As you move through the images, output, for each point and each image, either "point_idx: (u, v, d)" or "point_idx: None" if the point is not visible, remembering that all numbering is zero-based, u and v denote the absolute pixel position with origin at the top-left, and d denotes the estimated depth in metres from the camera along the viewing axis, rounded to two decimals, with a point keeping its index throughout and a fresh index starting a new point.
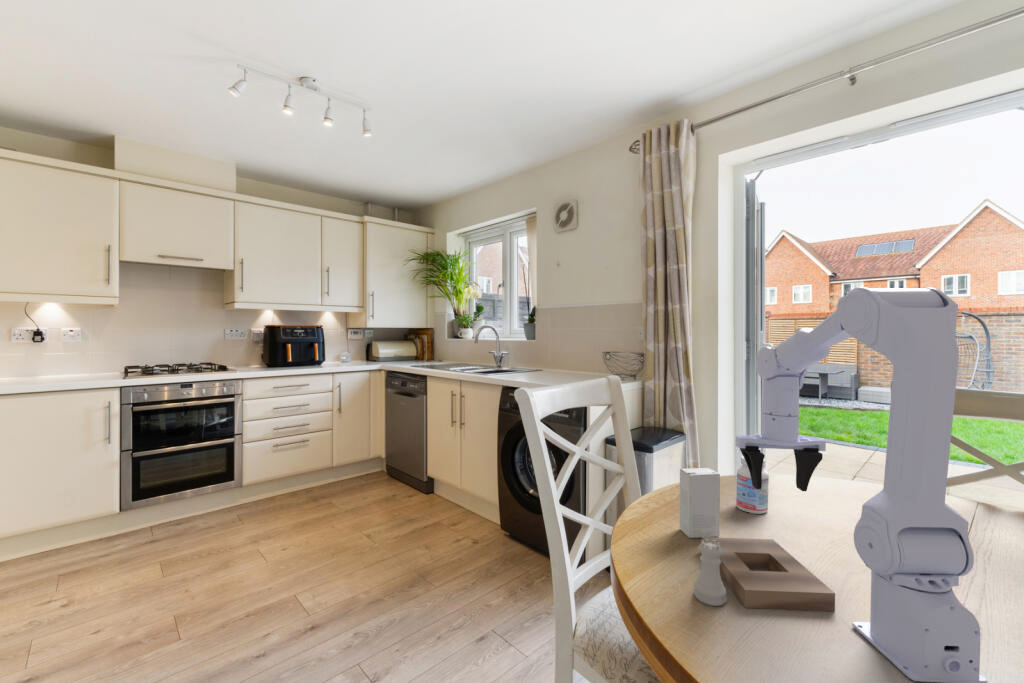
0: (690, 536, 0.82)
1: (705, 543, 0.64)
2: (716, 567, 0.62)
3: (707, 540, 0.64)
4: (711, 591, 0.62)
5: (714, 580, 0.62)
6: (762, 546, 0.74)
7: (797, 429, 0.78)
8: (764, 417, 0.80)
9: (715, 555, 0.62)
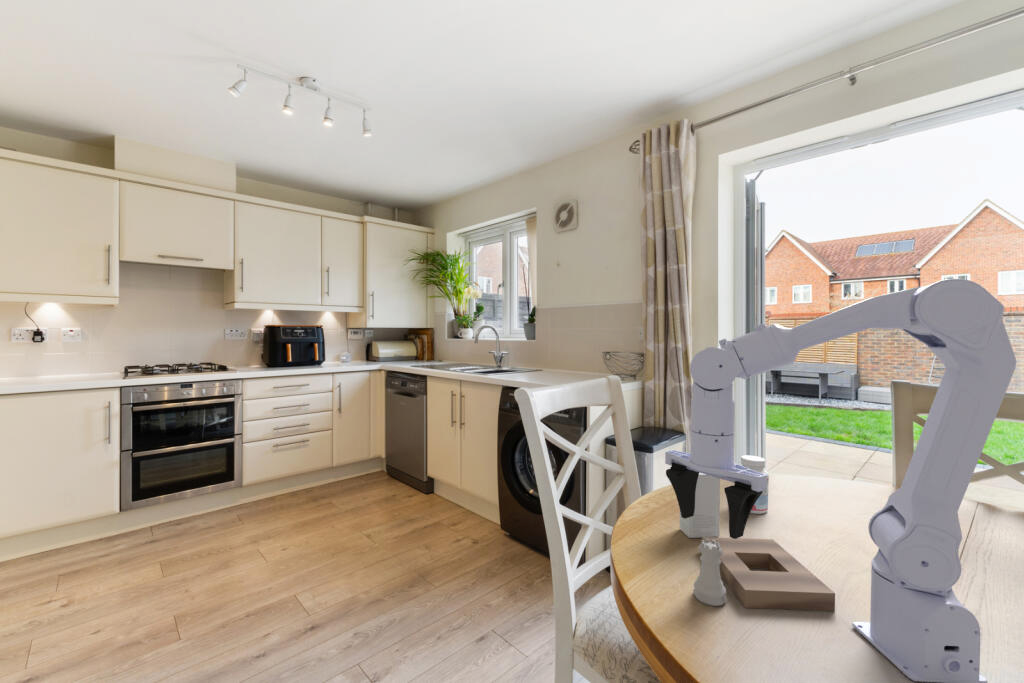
0: (690, 536, 0.82)
1: (705, 543, 0.64)
2: (716, 567, 0.62)
3: (707, 540, 0.64)
4: (711, 591, 0.62)
5: (714, 580, 0.62)
6: (762, 546, 0.74)
7: (717, 453, 0.60)
8: None
9: (715, 555, 0.62)
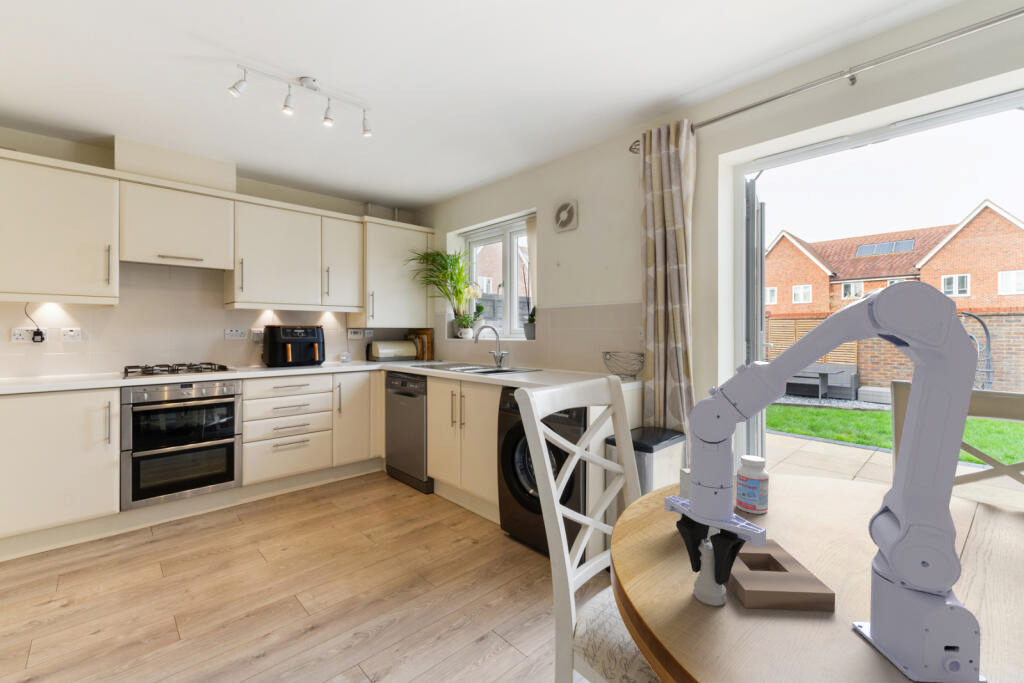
0: None
1: (705, 543, 0.64)
2: None
3: (707, 540, 0.64)
4: (711, 591, 0.62)
5: (714, 580, 0.62)
6: (762, 546, 0.74)
7: (716, 505, 0.60)
8: None
9: None
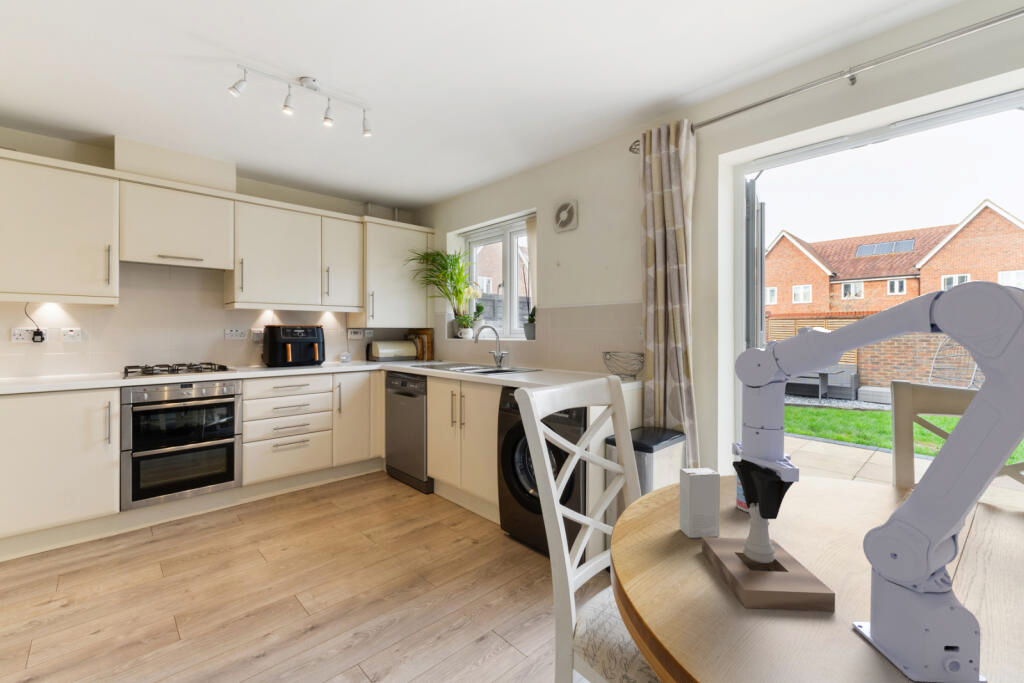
0: (690, 536, 0.82)
1: (755, 506, 0.69)
2: (763, 528, 0.68)
3: (758, 504, 0.70)
4: (756, 548, 0.67)
5: (761, 539, 0.67)
6: None
7: (757, 444, 0.66)
8: None
9: (760, 516, 0.67)
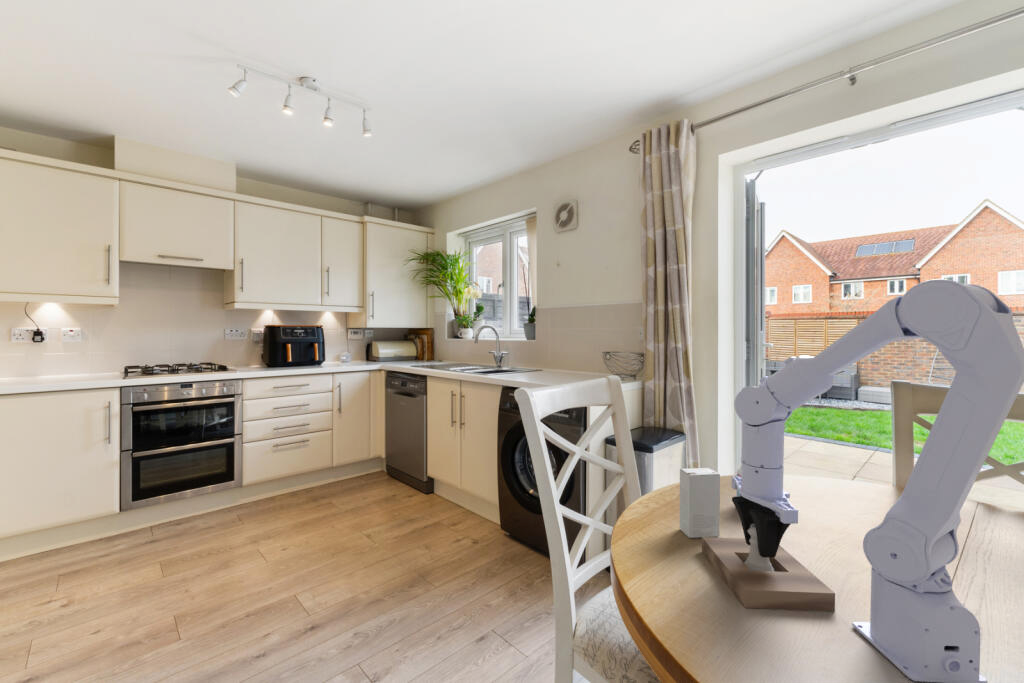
0: (690, 536, 0.82)
1: None
2: None
3: None
4: (756, 569, 0.67)
5: (760, 560, 0.68)
6: None
7: (756, 483, 0.67)
8: None
9: None
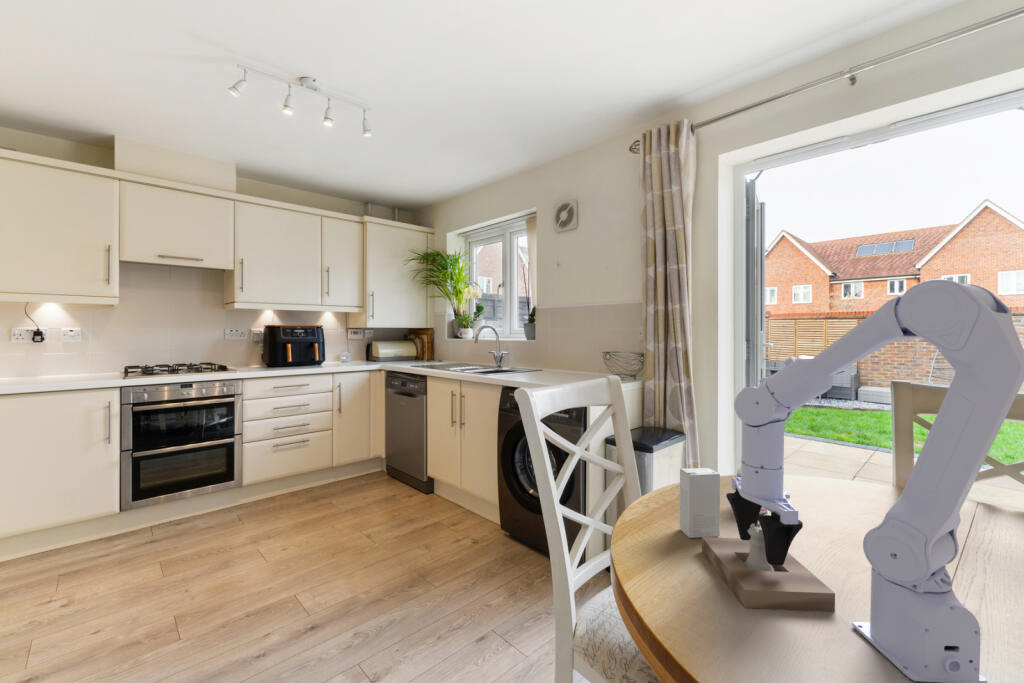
0: (690, 536, 0.82)
1: (755, 527, 0.69)
2: (763, 549, 0.68)
3: (758, 525, 0.70)
4: (756, 569, 0.67)
5: (760, 560, 0.68)
6: None
7: (756, 483, 0.67)
8: None
9: (760, 537, 0.67)
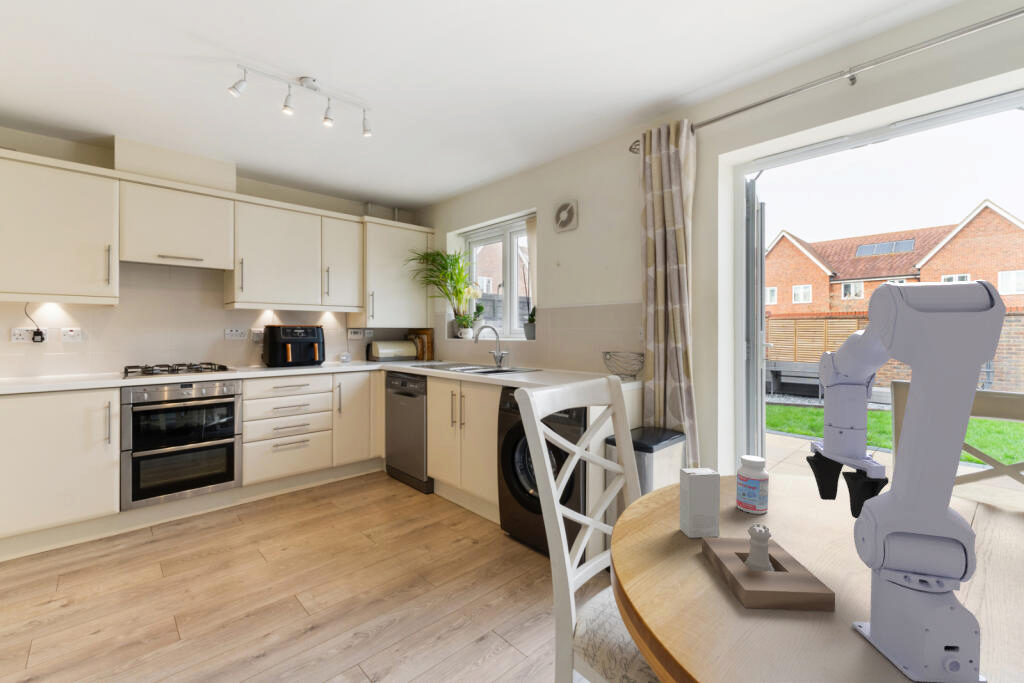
0: (690, 536, 0.82)
1: (755, 527, 0.69)
2: (763, 549, 0.68)
3: (758, 525, 0.70)
4: (756, 569, 0.67)
5: (760, 560, 0.68)
6: None
7: (840, 443, 0.71)
8: None
9: (761, 537, 0.67)
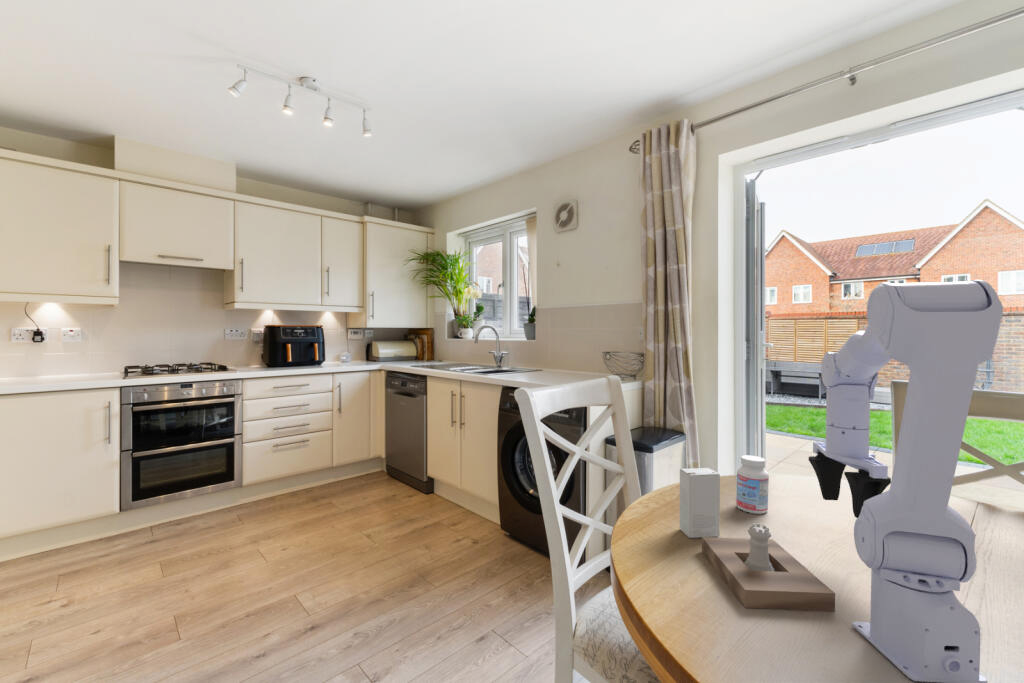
0: (690, 536, 0.82)
1: (755, 527, 0.69)
2: (763, 549, 0.68)
3: (758, 525, 0.70)
4: (756, 569, 0.67)
5: (760, 560, 0.68)
6: None
7: (843, 443, 0.71)
8: None
9: (760, 537, 0.67)
